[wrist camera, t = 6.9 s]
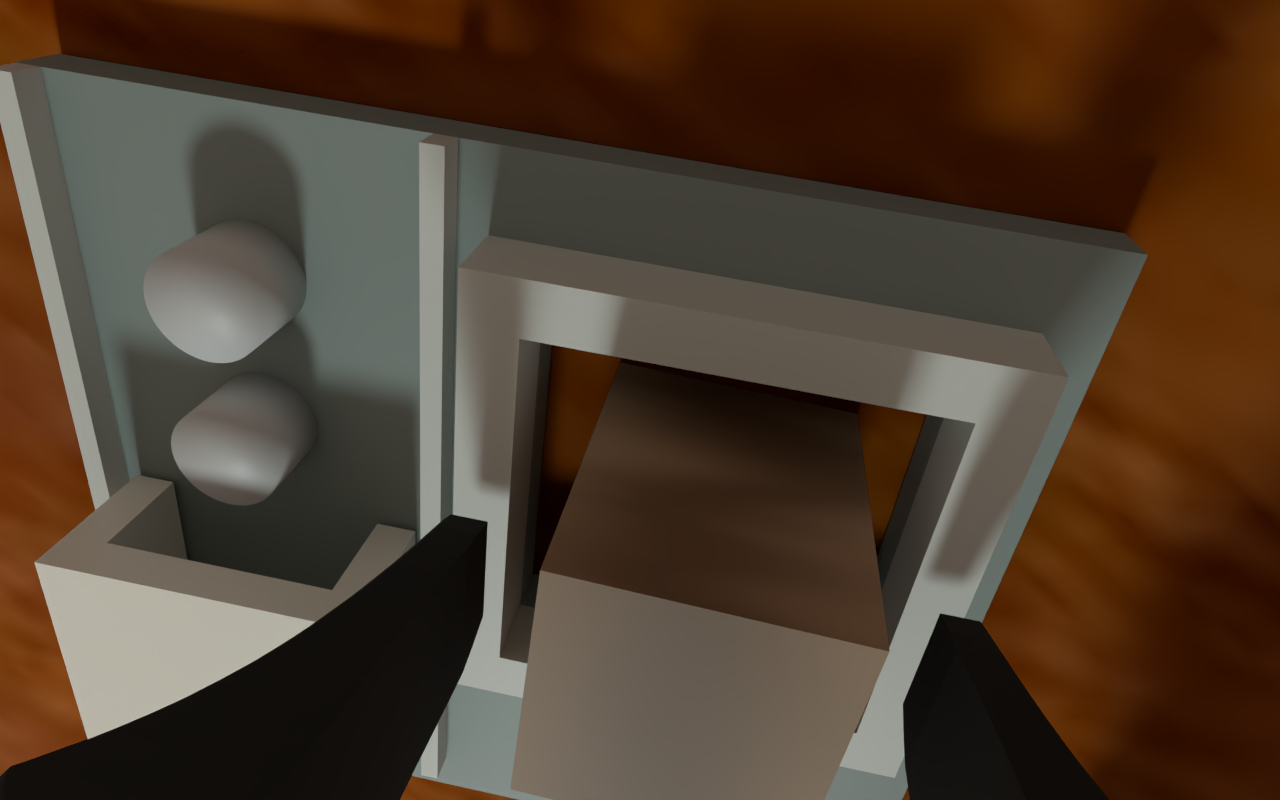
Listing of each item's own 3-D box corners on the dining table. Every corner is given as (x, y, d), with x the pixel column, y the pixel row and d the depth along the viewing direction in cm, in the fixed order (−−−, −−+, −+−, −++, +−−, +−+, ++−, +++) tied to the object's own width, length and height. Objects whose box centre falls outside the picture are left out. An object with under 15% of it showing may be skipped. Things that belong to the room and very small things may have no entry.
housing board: (1124, 233, 14) (1188, 293, 11) (864, 839, 22) (871, 941, 19) (59, 53, 15) (-66, 76, 13) (188, 690, 23) (125, 770, 21)
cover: (414, 531, 17) (354, 630, 15) (417, 754, 21) (368, 863, 18) (137, 474, 18) (34, 562, 15) (184, 703, 21) (107, 803, 19)
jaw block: (857, 413, 16) (889, 651, 11) (795, 591, 18) (798, 860, 13) (620, 361, 16) (540, 570, 11) (589, 544, 18) (510, 788, 13)
